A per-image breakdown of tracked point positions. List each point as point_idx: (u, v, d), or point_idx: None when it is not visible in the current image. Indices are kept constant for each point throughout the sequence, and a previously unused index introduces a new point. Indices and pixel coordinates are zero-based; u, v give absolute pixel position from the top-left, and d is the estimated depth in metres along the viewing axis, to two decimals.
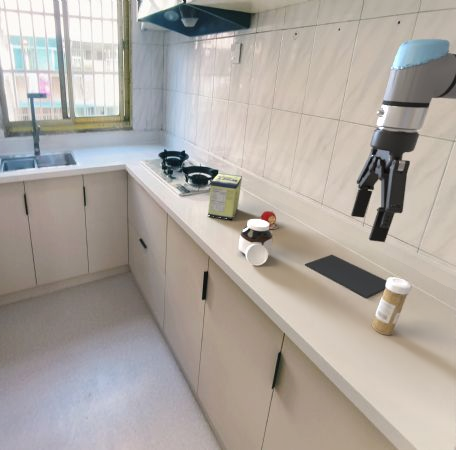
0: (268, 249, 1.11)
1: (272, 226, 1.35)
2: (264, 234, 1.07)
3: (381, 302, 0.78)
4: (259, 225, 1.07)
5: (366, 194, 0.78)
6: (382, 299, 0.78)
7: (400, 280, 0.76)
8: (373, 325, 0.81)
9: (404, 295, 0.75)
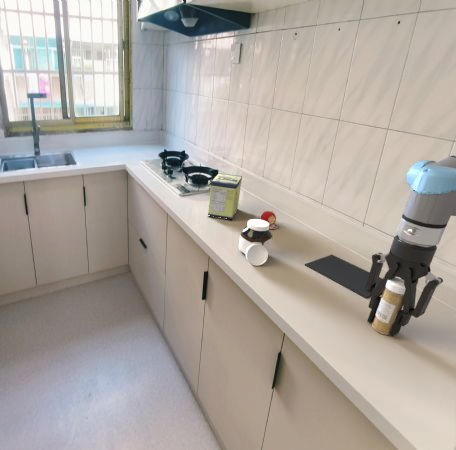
0: (268, 249, 1.11)
1: (272, 226, 1.35)
2: (264, 234, 1.07)
3: (381, 302, 0.78)
4: (259, 225, 1.07)
5: None
6: (382, 299, 0.78)
7: (400, 280, 0.76)
8: (373, 325, 0.81)
9: None
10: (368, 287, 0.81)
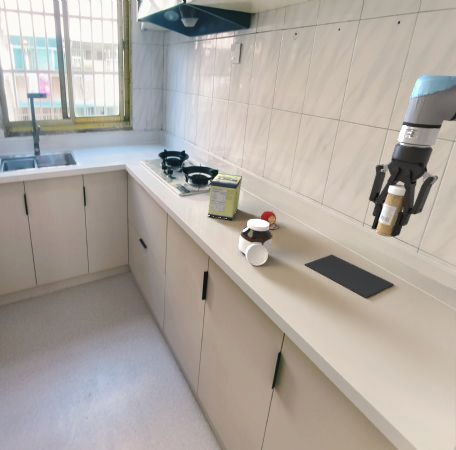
0: (268, 249, 1.11)
1: (272, 226, 1.35)
2: (264, 234, 1.07)
3: (384, 207, 0.89)
4: (259, 225, 1.07)
5: None
6: (385, 204, 0.89)
7: (400, 185, 0.87)
8: (376, 230, 0.92)
9: None
10: (372, 196, 0.91)
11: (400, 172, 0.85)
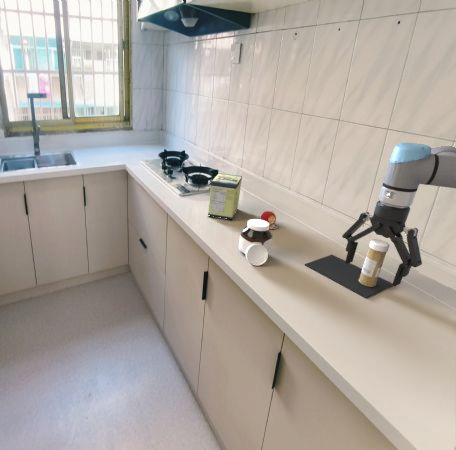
0: (268, 249, 1.11)
1: (272, 226, 1.35)
2: (264, 234, 1.07)
3: (366, 260, 0.96)
4: (259, 225, 1.07)
5: (355, 245, 1.00)
6: (366, 257, 0.96)
7: (381, 241, 0.94)
8: (359, 280, 0.99)
9: (384, 252, 0.92)
10: (346, 235, 1.00)
11: (381, 227, 0.91)
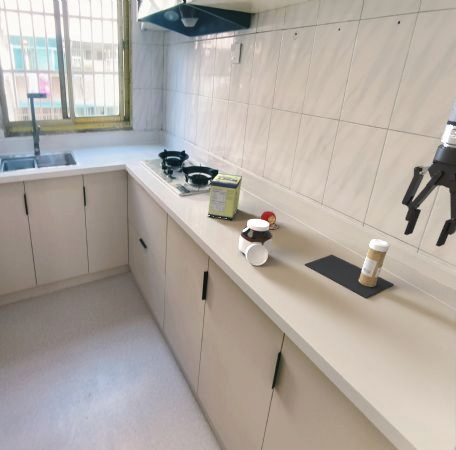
0: (268, 249, 1.11)
1: (272, 226, 1.35)
2: (264, 234, 1.07)
3: (366, 260, 0.96)
4: (259, 225, 1.07)
5: (418, 213, 0.85)
6: (366, 257, 0.96)
7: (381, 241, 0.94)
8: (359, 280, 0.99)
9: (384, 252, 0.92)
10: (406, 200, 0.85)
11: (443, 176, 0.78)
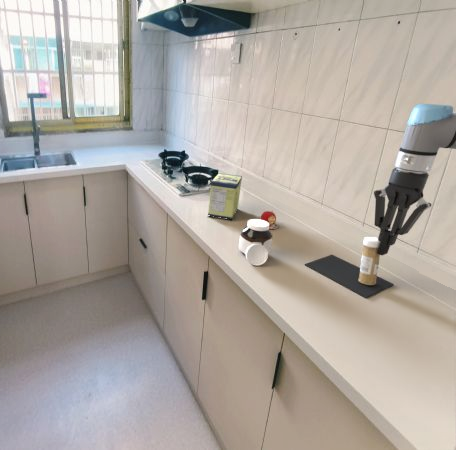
0: (268, 249, 1.11)
1: (272, 226, 1.35)
2: (264, 234, 1.07)
3: (362, 258, 0.97)
4: (259, 225, 1.07)
5: None
6: (362, 255, 0.97)
7: (374, 238, 0.95)
8: (359, 279, 0.99)
9: None
10: (377, 221, 0.92)
11: (397, 196, 0.87)
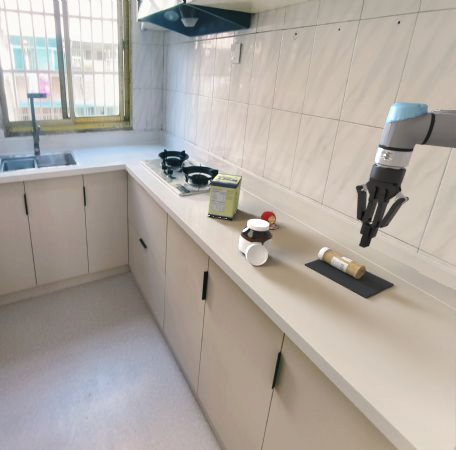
0: (268, 249, 1.11)
1: (272, 226, 1.35)
2: (264, 234, 1.07)
3: (333, 265, 1.05)
4: (259, 225, 1.07)
5: None
6: (331, 264, 1.06)
7: None
8: (353, 276, 1.00)
9: (328, 250, 1.08)
10: (359, 215, 0.96)
11: (377, 190, 0.91)
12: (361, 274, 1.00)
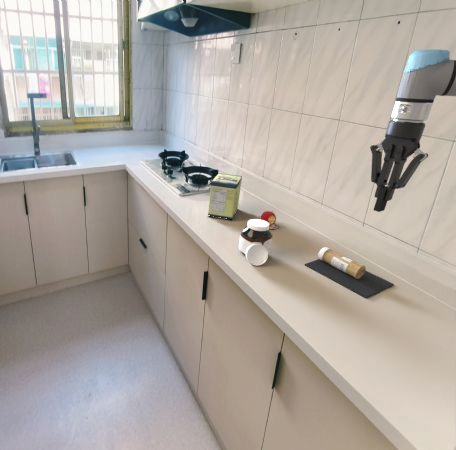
0: (268, 249, 1.11)
1: (272, 226, 1.35)
2: (264, 234, 1.07)
3: (333, 265, 1.05)
4: (259, 225, 1.07)
5: None
6: (331, 264, 1.06)
7: None
8: (353, 276, 1.00)
9: (328, 250, 1.08)
10: (374, 177, 0.91)
11: (393, 148, 0.85)
12: (361, 274, 1.00)
